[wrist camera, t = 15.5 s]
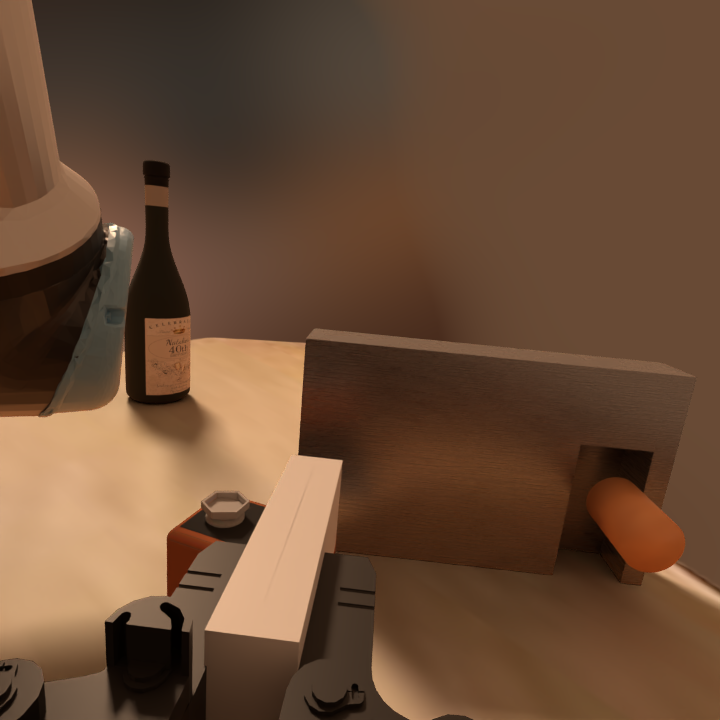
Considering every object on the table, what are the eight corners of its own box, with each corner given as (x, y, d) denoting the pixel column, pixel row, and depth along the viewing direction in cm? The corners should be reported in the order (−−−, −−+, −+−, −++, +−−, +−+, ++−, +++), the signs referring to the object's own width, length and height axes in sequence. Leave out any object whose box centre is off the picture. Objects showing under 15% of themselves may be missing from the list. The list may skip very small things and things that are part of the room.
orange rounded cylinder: (615, 568, 28) (628, 514, 27) (581, 521, 33) (591, 474, 32) (676, 575, 28) (692, 521, 27) (633, 527, 33) (645, 480, 32)
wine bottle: (202, 395, 66) (205, 168, 59) (154, 410, 60) (151, 154, 52) (162, 383, 70) (160, 167, 63) (112, 396, 63) (104, 154, 56)
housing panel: (292, 545, 36) (305, 338, 32) (301, 516, 40) (314, 328, 36) (641, 585, 35) (696, 377, 31) (615, 551, 39) (662, 362, 35)
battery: (217, 632, 27) (221, 472, 25) (326, 676, 25) (342, 506, 23) (162, 697, 23) (161, 513, 21) (286, 756, 21) (300, 559, 19)
